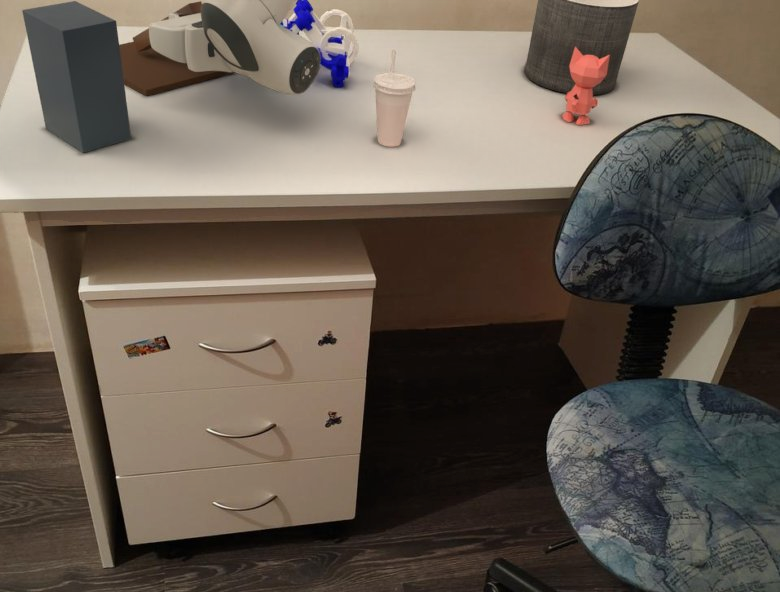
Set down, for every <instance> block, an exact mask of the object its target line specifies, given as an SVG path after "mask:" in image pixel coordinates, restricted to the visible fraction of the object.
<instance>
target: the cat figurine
mask: <svg viewBox="0 0 780 592" xmlns="http://www.w3.org/2000/svg"><path fill="white" fill-rule="evenodd" d="M609 57H610V55H608V56H606V57H603V58H601V59H599V58H598V57H596V56H594V55H582V54H581V52H580V51H579V50H578V49H577V48H576V46H575V48H574V52H573V55H572V58H571V62H570V65H569V67H570V73H571V77H572V79H573V80H574V82H575V83H576V84H575V86H574V87H573V89H572V90H571V91H570V92H568V93H565V96H564V100H565V101H566V107H565V108H566V109H565V110H566V111H565V112H564V113H563V114H562V115H561V117H562V119H563V120H564V121H565V122H567V123H572V122H574V118H575V117H574V114H575V115H578V118H577V119H576V120H575V125H577V126H583V125H589V124H591V120H590V116H588V115H587V114H589V113H591V110H593V109H594V108H596V107H598V103H599V102H598V101H599V100H598V98H597V97H596V96H594V95H593V91H592V87H594V86H596V85H597V84H599V83H601V82H602V80H603V79H604V78H605V76H606V75H607V69H608V63H609ZM603 81H605V80H603ZM605 82H606V81H605Z"/></svg>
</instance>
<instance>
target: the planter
mask: <svg viewBox="0 0 780 592" xmlns="http://www.w3.org/2000/svg"><path fill="white" fill-rule="evenodd" d="M639 2H640V0H537V4H536V9H535V15H534V18H533V19H534V20H533V24H532V30H531V36H530V40H529V47H528V52H527V57H526V61H525V65H524V70H523V72H524V75H525V76H526V78H528V79H529V80H530V81H531V82H533V83H535V84H537V85H538V86H541V87H542V88H545V89H548V90H551V91H555V92H558V93H564V94H567V93H568V92H570V91H571V90H572V89H573V87H574V86H575V84H576V83H575V82H574V80H573V79H572V77H571V73H570V67H569V65H570V62H571V58H572V55H573V52H574V48H575V46H576V48H577V49H578V50H579V51H580V52H581V54H582V55H594V56H596V57H598V58H599V59H601V58H603V57H606V56H608V55H610V57H609V63H608V69H607V75H606V76H605V78H604V79H603V80H605V81H606V82H605V81H603V80H602V82H601V83H599V84H597V85H596V86H594V87H592V91H593V96H597V95H604V94H607V93H609V92H611V91H613V90H614V89H615V88H616V85H617V81H618V77H619V73H620V69H621V65H622V63H623V58H624V55H625V53H626V49H627V45H628V42H629V39H630V34H631V32H632V31H631V30H632V27H633V25H634V20H635V16H636V13H637V9H638V5H639Z"/></svg>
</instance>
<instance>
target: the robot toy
mask: <svg viewBox="0 0 780 592" xmlns="http://www.w3.org/2000/svg"><path fill="white" fill-rule="evenodd" d="M292 9H293V14H291V15H290V17H289V18H284V20H283V21H282V22H281V24H280V26H282V27H284V28H286V29H288V30H290V31H292V32H294V33H296V34H298V35H300V32H303V33H304V34H305V36H306V37H307V38H308V41H309V42H311V43H312V44H313V45H315V46H316V47H317V48H318V50H319V52H320V57H321V63H320V66H322V67H324V68H326V69H328V70H330V77H331V82H332V85H333V87H335V88H343V87H344V86H345V85H344V84H345V80H346V79H349V78H350V70H351V69H350V68H351V67H350V65H351V64H352V63H354V61H355V60H356V58H357V57H358V54H359V42H358V38H357V36H356V35H355V34H354V32H355V26H354V24H353V20H352V18H351V16H350V15H349V14H348V12H345V11H343V10H341V9H337V8H335V9H331V10H330V11H329V10H327V11H325V12H324V13H322V14H321V16H320V17H319V16H317V14H316V13H315V12H314V8H313V6H312V4H311V3H310V1H309V0H299V1H298V2H297V3H296V4H295V6H294V7H293V8H292ZM334 16H338V17H340V23H339V26H336V27H334V26H325V22H326V20H328V19H329V18H331V17H334ZM347 25H348V28H347ZM351 42H352V52H351V54H350V55H349V52H350V49H351Z"/></svg>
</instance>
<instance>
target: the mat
mask: <svg viewBox="0 0 780 592" xmlns="http://www.w3.org/2000/svg"><path fill="white" fill-rule="evenodd" d="M119 47H120V55H121V63H122V71H123V78H124V86H126V87H129V88H130V89H132V90H134V91H136V92H138V93H140V94H141V95H143V96H145V97H149V96H153V95H157V94H160V93H163V92H167V91H168V92H169V91H171V90H175V89H178V88H182V87H187V86H190V85H194V84H197V83H201V82H205V81H208V80H212V79H216V78H220V77H224V76H227V75H232V74H233V72H224V71H205V72H194V71H192V70H190V69H189V68H188V65H187V63H181V62H177V61H174V60H172V59H170V58H168V57H166V56H164V55H162V54H160V53H158V52H156V51H155V50H154V49H153V48H151V49H149V50H145V51H140V52H138V51H137V49H136V46H135V44H134V41H130V42H126V43H121V44H120V43H119Z"/></svg>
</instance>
